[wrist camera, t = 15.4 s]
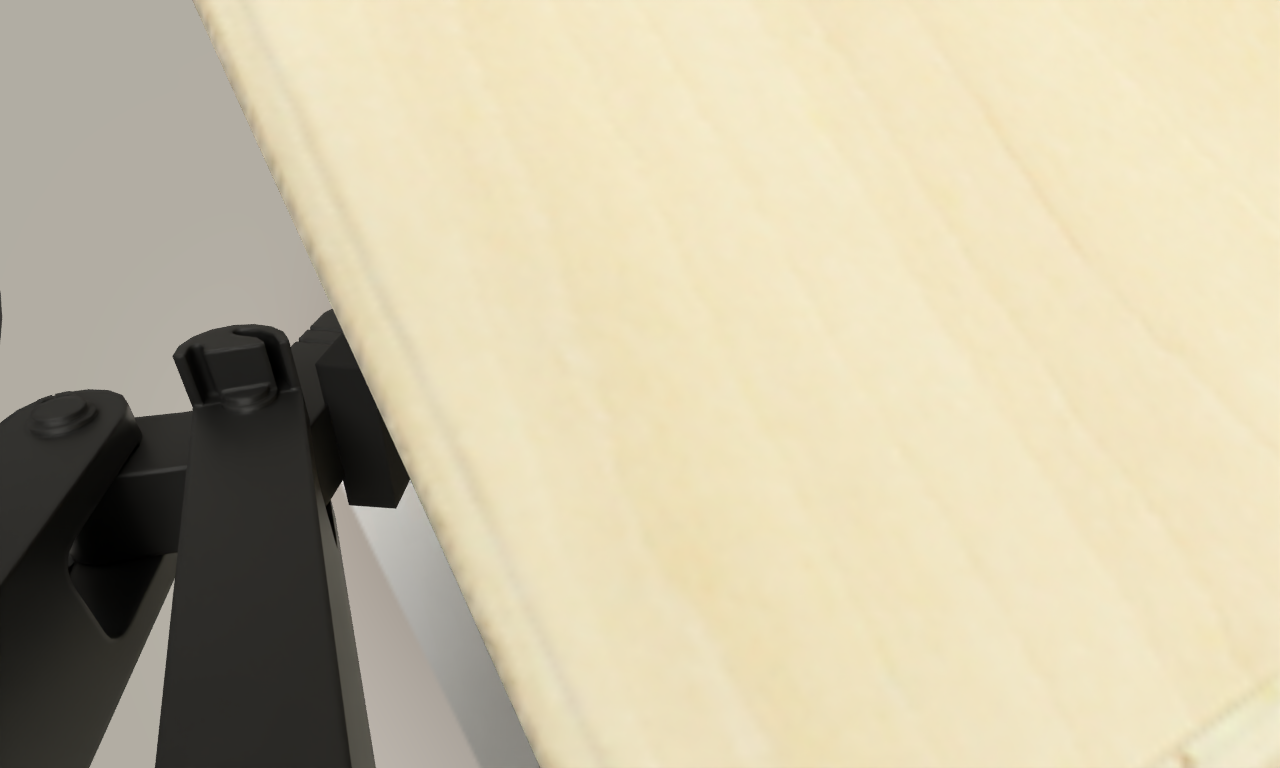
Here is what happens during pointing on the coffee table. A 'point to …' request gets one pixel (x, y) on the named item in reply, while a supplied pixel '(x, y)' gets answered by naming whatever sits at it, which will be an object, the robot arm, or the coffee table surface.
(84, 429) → the robot arm
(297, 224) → the cream tall block
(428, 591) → the coffee table surface
